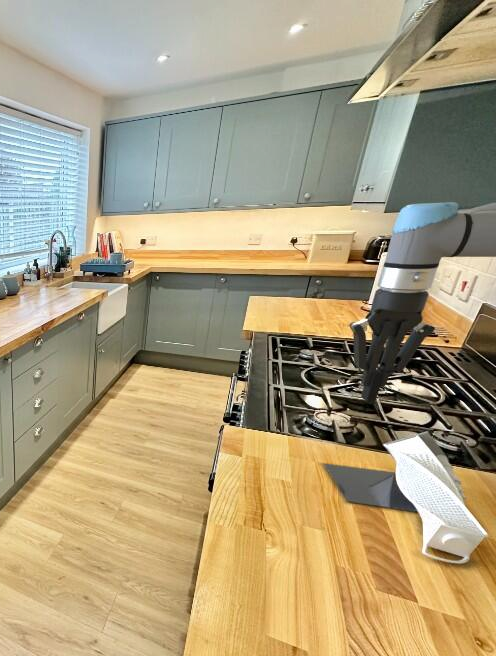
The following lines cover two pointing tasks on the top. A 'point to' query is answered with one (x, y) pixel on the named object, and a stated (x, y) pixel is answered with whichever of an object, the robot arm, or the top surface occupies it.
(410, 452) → the skyscraper
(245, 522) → the top surface
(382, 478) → the slate pad
